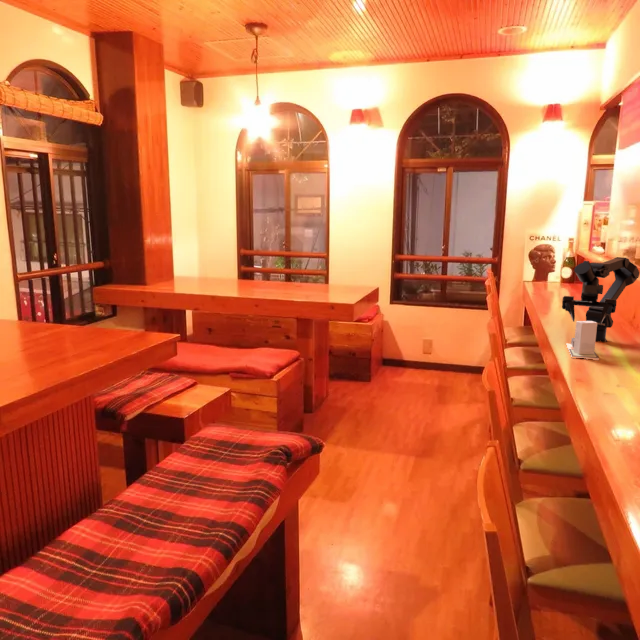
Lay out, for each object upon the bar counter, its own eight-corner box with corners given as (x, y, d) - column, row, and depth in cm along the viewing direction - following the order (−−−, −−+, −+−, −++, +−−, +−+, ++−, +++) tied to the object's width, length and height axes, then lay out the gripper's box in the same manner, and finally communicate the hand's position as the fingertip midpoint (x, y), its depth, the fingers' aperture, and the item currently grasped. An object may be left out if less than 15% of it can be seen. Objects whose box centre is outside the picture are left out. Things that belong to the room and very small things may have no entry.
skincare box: (587, 351, 206) (591, 320, 203) (594, 354, 201) (598, 322, 199) (572, 351, 205) (575, 320, 202) (579, 355, 201) (582, 322, 198)
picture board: (565, 345, 218) (566, 337, 218) (590, 347, 216) (591, 339, 215) (571, 358, 200) (572, 349, 199) (598, 360, 197) (599, 351, 196)
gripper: (565, 275, 213) (560, 308, 205) (619, 278, 205) (617, 312, 197) (564, 292, 221) (560, 324, 214) (615, 295, 213) (613, 329, 206)
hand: (586, 322), depth 207 cm, fingers open, 9 cm apart
